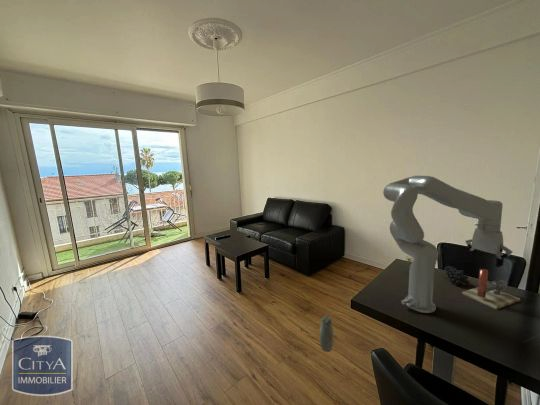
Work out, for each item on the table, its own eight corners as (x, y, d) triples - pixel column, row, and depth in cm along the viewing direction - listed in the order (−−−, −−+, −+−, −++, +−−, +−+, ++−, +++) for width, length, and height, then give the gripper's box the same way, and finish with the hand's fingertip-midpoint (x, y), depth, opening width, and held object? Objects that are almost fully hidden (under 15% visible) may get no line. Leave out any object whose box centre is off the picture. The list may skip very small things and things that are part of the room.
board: (496, 309, 104) (497, 300, 103) (462, 293, 117) (462, 285, 116) (519, 300, 109) (521, 291, 108) (484, 286, 122) (485, 278, 122)
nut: (489, 290, 117) (490, 283, 116) (481, 286, 120) (481, 280, 120) (494, 288, 118) (494, 282, 117) (485, 285, 121) (486, 279, 121)
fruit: (435, 274, 137) (456, 290, 122) (436, 262, 135) (458, 276, 120) (449, 272, 137) (472, 287, 123) (451, 260, 135) (474, 274, 120)
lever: (484, 299, 107) (487, 272, 105) (473, 294, 111) (476, 268, 109) (509, 291, 113) (513, 265, 111) (498, 286, 117) (501, 262, 115)
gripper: (462, 224, 111) (460, 257, 114) (508, 233, 95) (504, 271, 98) (472, 222, 114) (470, 254, 116) (519, 230, 97) (515, 268, 100)
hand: (485, 262), depth 107 cm, fingers open, 9 cm apart
